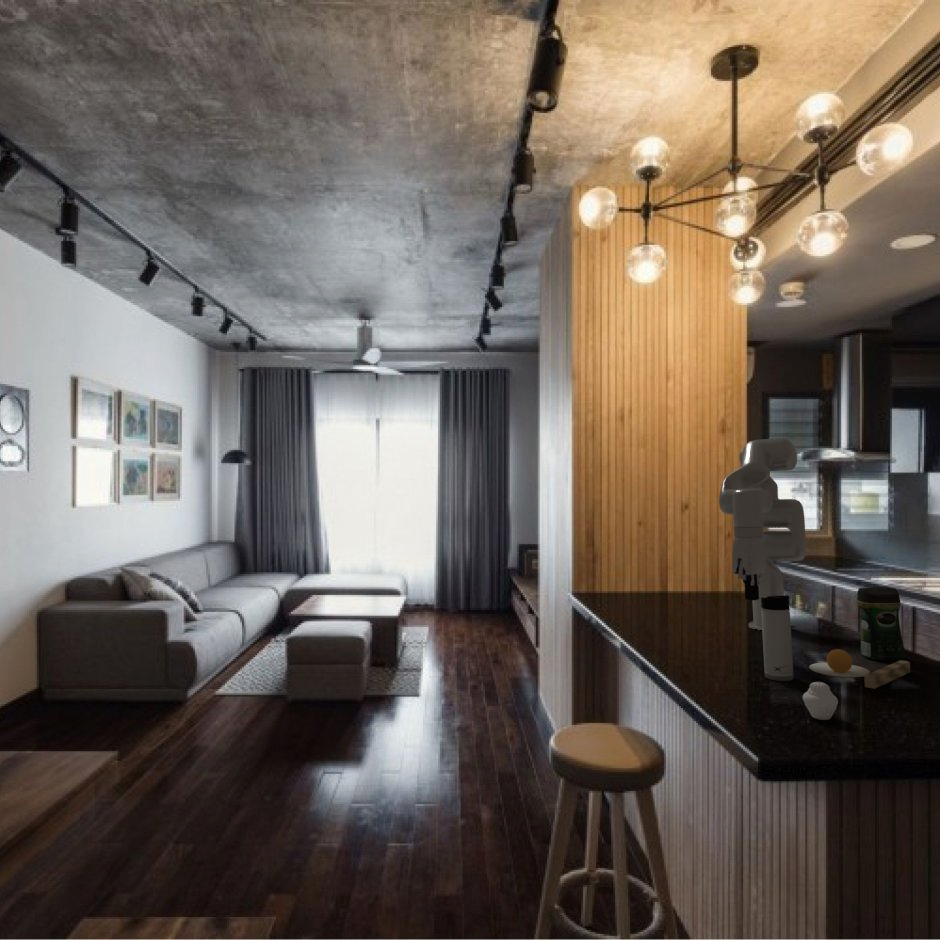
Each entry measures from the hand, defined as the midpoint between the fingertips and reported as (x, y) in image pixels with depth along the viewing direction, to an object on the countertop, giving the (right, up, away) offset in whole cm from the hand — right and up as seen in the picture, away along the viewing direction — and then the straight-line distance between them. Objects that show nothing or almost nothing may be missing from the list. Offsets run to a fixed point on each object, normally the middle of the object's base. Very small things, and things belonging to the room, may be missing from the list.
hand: (752, 599), depth 176 cm
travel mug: (-4, -14, -24) cm, 28 cm away
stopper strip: (+20, -13, -27) cm, 36 cm away
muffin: (-9, -13, -51) cm, 53 cm away
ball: (+12, -11, -20) cm, 26 cm away
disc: (+13, -14, -18) cm, 27 cm away
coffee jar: (+31, -14, -8) cm, 35 cm away
